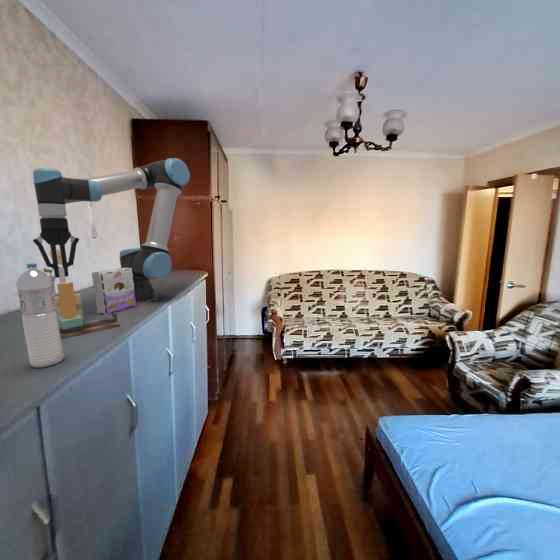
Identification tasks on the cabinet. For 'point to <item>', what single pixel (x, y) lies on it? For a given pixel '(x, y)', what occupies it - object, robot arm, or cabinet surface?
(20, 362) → the cabinet surface
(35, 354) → the water bottle
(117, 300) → the candy box
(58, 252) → the flower in vase
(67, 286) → the block
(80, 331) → the rail board
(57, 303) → the tan hollow wooden box
